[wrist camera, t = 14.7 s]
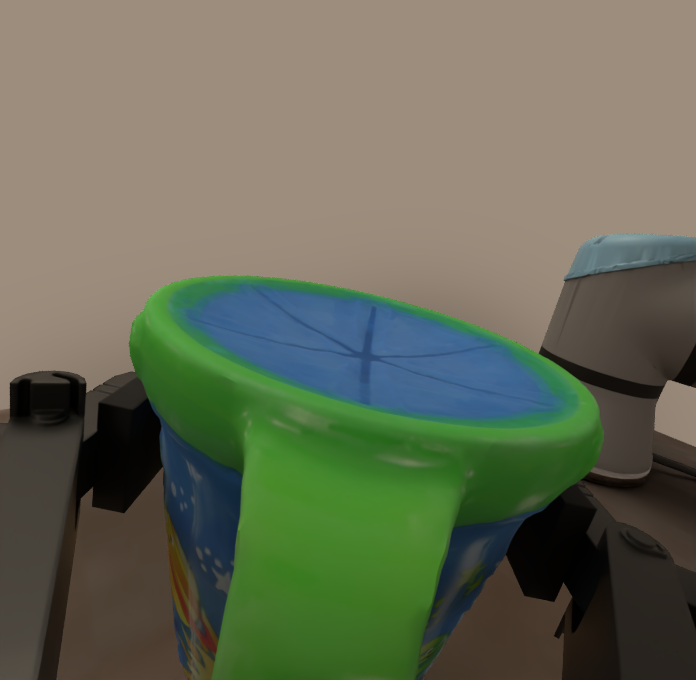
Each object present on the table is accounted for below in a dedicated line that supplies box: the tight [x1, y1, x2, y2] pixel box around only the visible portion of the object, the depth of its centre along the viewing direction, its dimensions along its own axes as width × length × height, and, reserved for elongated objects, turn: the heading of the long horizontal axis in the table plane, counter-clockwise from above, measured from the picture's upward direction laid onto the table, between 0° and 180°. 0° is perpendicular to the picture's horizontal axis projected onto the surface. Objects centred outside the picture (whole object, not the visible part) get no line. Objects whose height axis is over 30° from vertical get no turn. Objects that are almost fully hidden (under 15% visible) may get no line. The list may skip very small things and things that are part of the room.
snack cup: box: [129, 276, 604, 680], centre depth 12 cm, size 16×10×10 cm
